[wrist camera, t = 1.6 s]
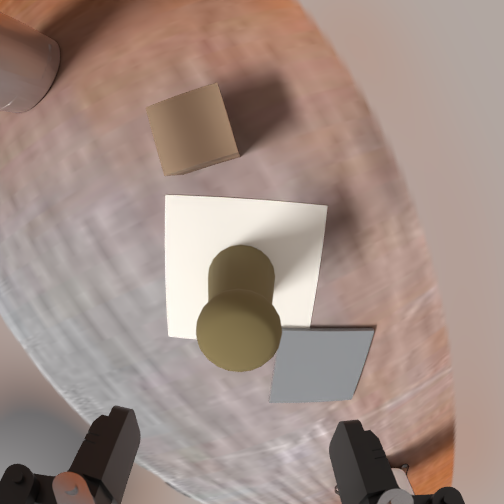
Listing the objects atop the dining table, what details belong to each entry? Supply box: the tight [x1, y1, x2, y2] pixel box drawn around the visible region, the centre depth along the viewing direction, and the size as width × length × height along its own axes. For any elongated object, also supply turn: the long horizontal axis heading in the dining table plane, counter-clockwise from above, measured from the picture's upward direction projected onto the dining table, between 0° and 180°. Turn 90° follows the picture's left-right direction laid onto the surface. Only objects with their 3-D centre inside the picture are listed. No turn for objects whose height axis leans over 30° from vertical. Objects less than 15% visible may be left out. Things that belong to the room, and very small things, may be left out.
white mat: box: [165, 195, 328, 339], centre depth 26 cm, size 14×14×1 cm
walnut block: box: [146, 83, 240, 176], centre depth 20 cm, size 5×5×6 cm
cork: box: [196, 245, 282, 372], centre depth 21 cm, size 6×6×11 cm
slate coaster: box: [269, 328, 374, 403], centre depth 29 cm, size 10×10×1 cm
